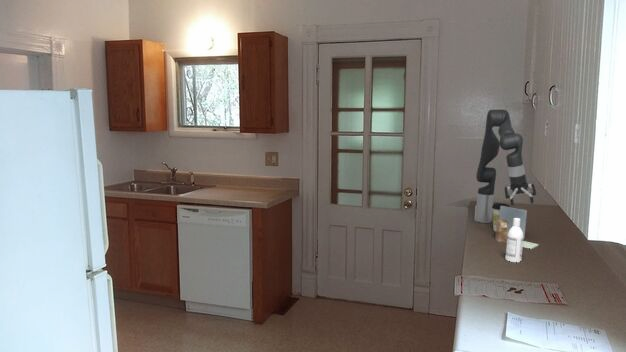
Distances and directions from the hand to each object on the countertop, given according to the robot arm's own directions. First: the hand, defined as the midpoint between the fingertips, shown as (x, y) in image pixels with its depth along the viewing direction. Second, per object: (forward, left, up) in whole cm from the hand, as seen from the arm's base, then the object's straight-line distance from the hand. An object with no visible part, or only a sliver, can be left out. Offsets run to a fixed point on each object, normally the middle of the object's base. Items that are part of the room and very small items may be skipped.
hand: (522, 204), depth 250 cm
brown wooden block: (-11, +3, -22) cm, 25 cm away
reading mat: (+1, +6, -22) cm, 23 cm away
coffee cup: (-21, +22, -22) cm, 38 cm away
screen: (-11, +15, -22) cm, 29 cm away
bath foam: (+7, -23, -22) cm, 33 cm away
